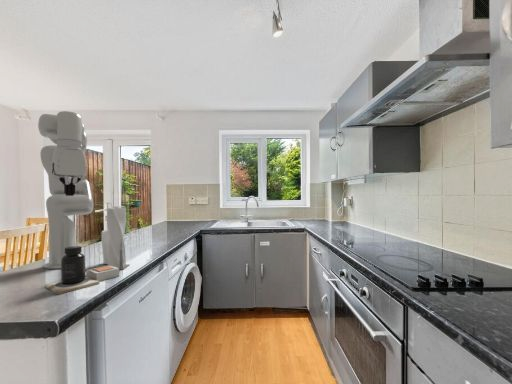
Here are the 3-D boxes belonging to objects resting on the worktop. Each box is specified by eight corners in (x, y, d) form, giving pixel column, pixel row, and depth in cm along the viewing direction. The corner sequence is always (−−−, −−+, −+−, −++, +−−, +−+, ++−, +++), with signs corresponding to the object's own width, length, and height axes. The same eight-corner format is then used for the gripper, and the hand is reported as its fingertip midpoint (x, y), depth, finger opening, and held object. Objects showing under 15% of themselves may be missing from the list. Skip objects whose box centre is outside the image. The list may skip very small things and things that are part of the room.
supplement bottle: (89, 279, 94) (89, 245, 94) (71, 285, 87) (71, 249, 87) (74, 278, 96) (74, 244, 96) (56, 284, 89) (55, 248, 89)
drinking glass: (111, 265, 117) (111, 231, 117) (98, 264, 118) (97, 231, 118) (121, 261, 123) (121, 229, 124) (109, 261, 125) (109, 229, 125)
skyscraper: (101, 270, 109) (101, 202, 109) (110, 265, 117) (110, 202, 117) (123, 269, 110) (122, 202, 110) (130, 264, 118) (130, 201, 118)
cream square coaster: (45, 286, 90) (45, 283, 90) (84, 277, 100) (84, 274, 100) (58, 294, 83) (58, 291, 83) (99, 283, 93) (99, 280, 93)
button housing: (87, 277, 99) (87, 269, 99) (109, 272, 106) (109, 265, 106) (96, 281, 95) (96, 273, 95) (119, 276, 101) (119, 268, 101)
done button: (93, 274, 100) (93, 268, 100) (107, 270, 104) (106, 265, 104) (99, 276, 97) (99, 270, 97) (113, 273, 101) (113, 267, 101)
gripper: (87, 149, 106) (87, 195, 106) (41, 144, 94) (41, 195, 94) (95, 147, 102) (96, 195, 102) (48, 141, 90) (48, 195, 90)
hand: (69, 195), depth 98 cm, fingers closed
